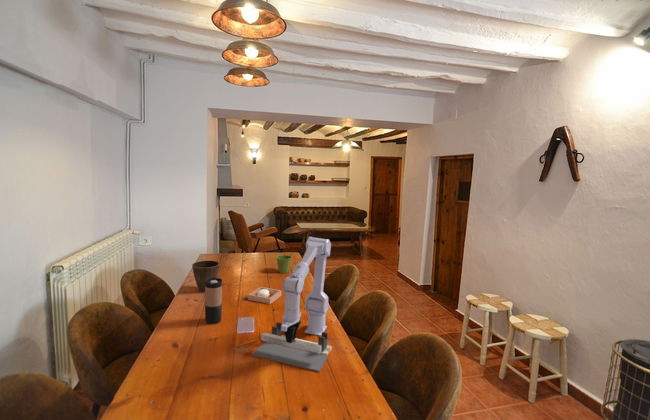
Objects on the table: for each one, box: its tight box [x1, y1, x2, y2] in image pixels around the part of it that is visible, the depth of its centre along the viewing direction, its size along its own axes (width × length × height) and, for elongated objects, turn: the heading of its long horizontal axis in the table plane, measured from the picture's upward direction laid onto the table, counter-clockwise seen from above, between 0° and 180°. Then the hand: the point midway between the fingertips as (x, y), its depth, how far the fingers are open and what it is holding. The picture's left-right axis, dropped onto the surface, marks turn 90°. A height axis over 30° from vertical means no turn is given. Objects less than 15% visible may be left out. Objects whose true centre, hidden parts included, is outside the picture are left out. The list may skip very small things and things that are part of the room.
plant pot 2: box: [275, 254, 293, 274], centre depth 234 cm, size 12×12×11 cm
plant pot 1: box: [191, 260, 220, 293], centre depth 192 cm, size 15×15×16 cm
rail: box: [260, 332, 322, 354], centre depth 127 cm, size 2×25×2 cm, turn 72°
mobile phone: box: [236, 316, 255, 334], centre depth 152 cm, size 8×1×15 cm
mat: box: [251, 341, 328, 373], centre depth 128 cm, size 10×28×1 cm, turn 72°
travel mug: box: [204, 277, 223, 325], centre depth 153 cm, size 8×8×20 cm
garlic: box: [257, 289, 271, 298], centre depth 188 cm, size 8×7×4 cm
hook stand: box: [268, 321, 333, 357], centre depth 136 cm, size 6×27×7 cm, turn 72°
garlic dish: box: [247, 286, 283, 305], centre depth 186 cm, size 14×14×3 cm
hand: (290, 340), depth 127 cm, fingers closed on rail, 2 cm apart
